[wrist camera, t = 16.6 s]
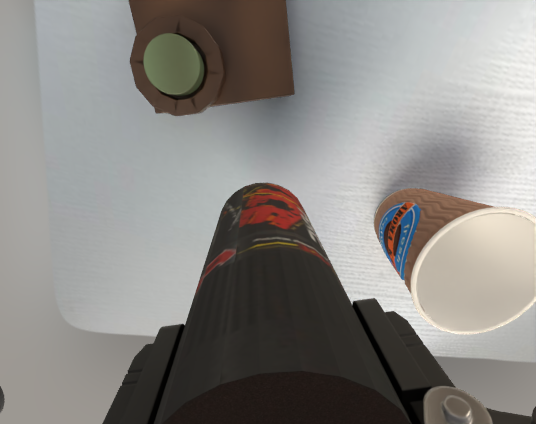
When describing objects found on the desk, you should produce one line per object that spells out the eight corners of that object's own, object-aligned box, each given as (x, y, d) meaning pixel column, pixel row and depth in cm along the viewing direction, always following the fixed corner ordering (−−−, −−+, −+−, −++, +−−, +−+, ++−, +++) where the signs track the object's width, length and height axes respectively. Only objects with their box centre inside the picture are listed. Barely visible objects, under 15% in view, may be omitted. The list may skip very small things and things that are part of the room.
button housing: (160, 118, 28) (144, 120, 24) (130, -12, 25) (104, -37, 21) (291, 100, 28) (298, 99, 24) (278, -33, 25) (283, -62, 21)
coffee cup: (367, 168, 31) (432, 203, 19) (463, 175, 31) (580, 212, 20) (350, 258, 34) (398, 333, 23) (437, 262, 35) (526, 337, 23)
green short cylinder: (159, 99, 24) (151, 98, 22) (146, 43, 23) (136, 36, 21) (209, 92, 24) (204, 90, 22) (198, 35, 23) (193, 29, 21)
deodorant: (202, 235, 21) (91, 510, 6) (252, 164, 19) (247, 318, 5) (272, 277, 22) (306, 583, 8) (323, 214, 21) (478, 447, 6)
